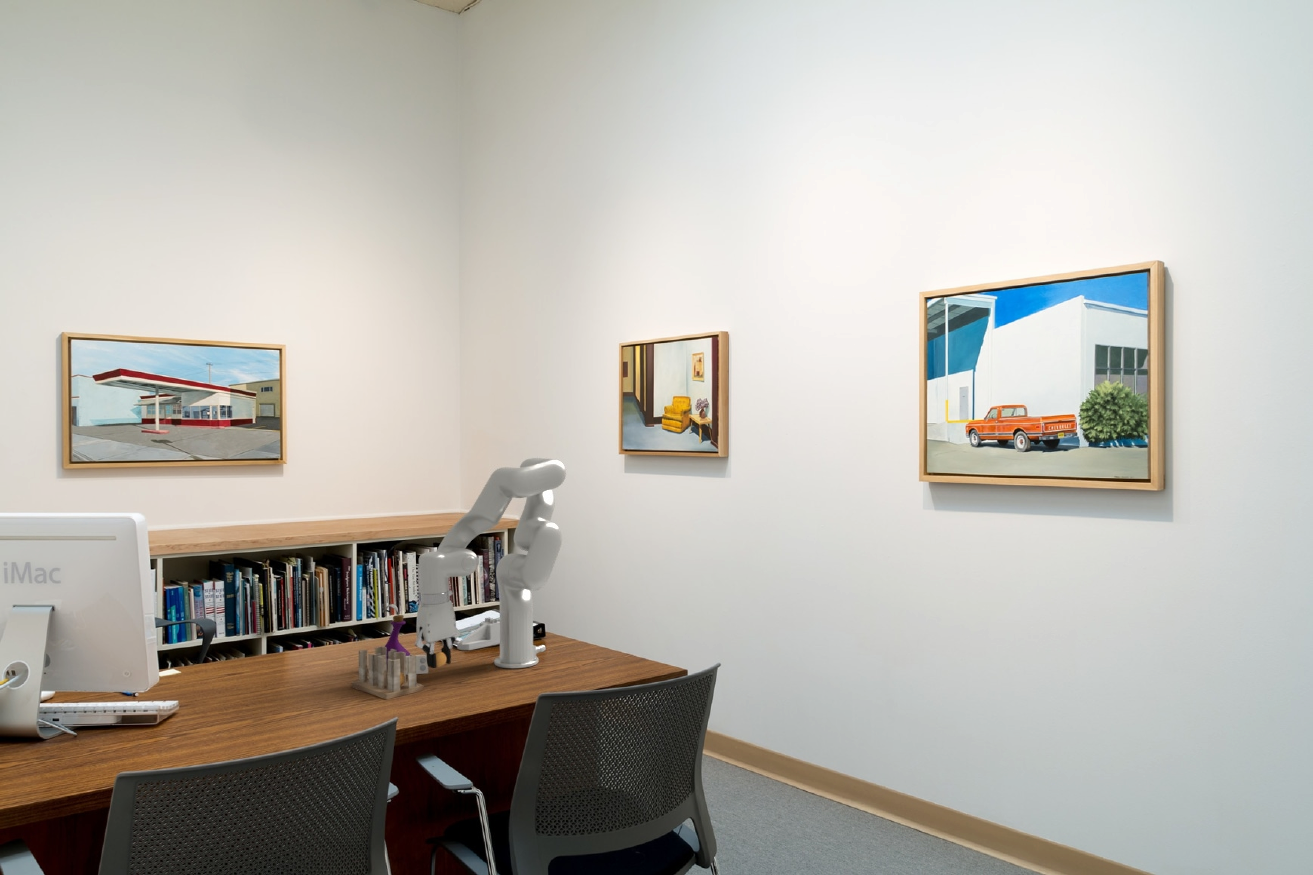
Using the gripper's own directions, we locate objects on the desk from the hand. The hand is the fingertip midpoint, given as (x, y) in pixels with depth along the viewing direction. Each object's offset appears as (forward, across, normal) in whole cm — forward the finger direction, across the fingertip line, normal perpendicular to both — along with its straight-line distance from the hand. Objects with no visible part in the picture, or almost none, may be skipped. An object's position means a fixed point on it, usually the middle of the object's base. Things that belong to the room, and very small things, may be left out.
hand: (439, 664), depth 244 cm
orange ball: (+1, 0, 0) cm, 1 cm away
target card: (+4, +2, -10) cm, 11 cm away
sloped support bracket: (+6, -33, -23) cm, 41 cm away
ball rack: (+3, +14, -3) cm, 15 cm away
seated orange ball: (+2, +14, +1) cm, 14 cm away
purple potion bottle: (+4, +2, -20) cm, 21 cm away
